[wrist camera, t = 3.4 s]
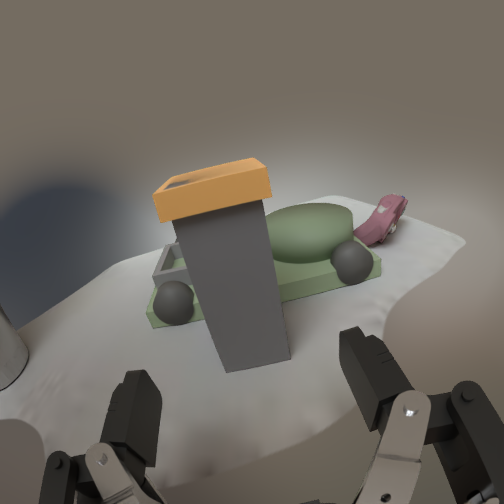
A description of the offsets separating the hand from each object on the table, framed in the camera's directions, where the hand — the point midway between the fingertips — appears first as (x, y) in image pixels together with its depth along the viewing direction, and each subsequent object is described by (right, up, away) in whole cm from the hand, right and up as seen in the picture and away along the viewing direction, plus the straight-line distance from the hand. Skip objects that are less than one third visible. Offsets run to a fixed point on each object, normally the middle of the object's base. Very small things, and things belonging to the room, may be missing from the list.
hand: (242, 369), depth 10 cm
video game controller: (+18, +7, +25) cm, 31 cm away
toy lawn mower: (+1, +3, +24) cm, 24 cm away
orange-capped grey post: (+1, -3, +12) cm, 12 cm away
